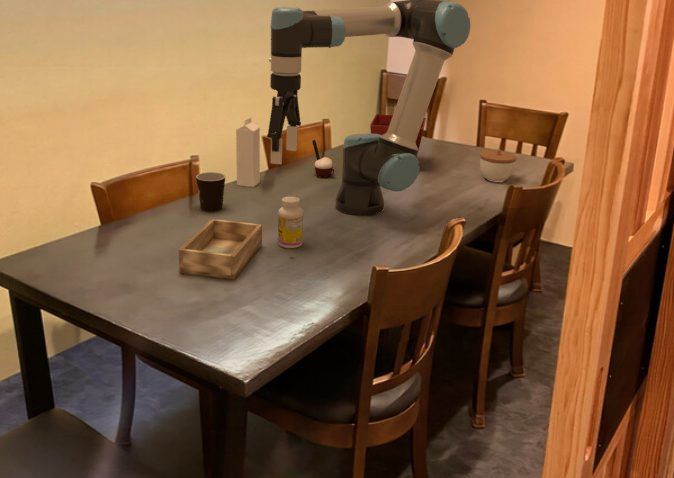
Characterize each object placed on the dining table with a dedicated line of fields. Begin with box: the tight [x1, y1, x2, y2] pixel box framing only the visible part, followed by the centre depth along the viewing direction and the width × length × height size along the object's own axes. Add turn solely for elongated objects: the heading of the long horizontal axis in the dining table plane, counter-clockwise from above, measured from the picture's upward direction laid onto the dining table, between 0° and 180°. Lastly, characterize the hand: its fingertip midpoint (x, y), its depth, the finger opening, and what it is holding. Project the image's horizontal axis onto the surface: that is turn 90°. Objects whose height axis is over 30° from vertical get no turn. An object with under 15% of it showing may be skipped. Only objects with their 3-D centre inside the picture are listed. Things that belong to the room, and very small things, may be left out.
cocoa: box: [312, 139, 335, 179], centre depth 246 cm, size 10×6×12 cm, turn 32°
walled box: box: [178, 218, 263, 281], centre depth 177 cm, size 14×22×6 cm, turn 169°
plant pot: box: [369, 113, 427, 158], centre depth 262 cm, size 19×19×17 cm
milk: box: [235, 117, 261, 188], centre depth 232 cm, size 6×6×22 cm
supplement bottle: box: [277, 196, 304, 249], centre depth 187 cm, size 7×7×13 cm
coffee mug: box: [195, 171, 226, 213], centre depth 212 cm, size 12×9×10 cm
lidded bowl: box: [479, 149, 517, 181], centre depth 251 cm, size 13×13×11 cm
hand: (284, 156), depth 181 cm, fingers open, 13 cm apart
